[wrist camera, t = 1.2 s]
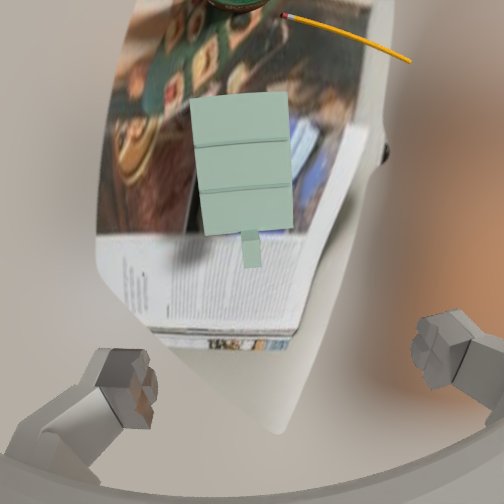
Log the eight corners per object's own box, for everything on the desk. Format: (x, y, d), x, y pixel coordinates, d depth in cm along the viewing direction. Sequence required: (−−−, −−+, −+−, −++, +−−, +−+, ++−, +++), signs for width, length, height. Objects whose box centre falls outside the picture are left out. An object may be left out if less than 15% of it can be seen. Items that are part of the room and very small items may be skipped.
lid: (190, 99, 27) (184, 97, 24) (286, 92, 27) (292, 88, 24) (208, 256, 34) (206, 271, 31) (292, 249, 35) (298, 263, 31)
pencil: (282, 13, 28) (283, 11, 28) (408, 59, 31) (411, 59, 30) (281, 18, 28) (282, 16, 28) (408, 64, 31) (410, 63, 30)
